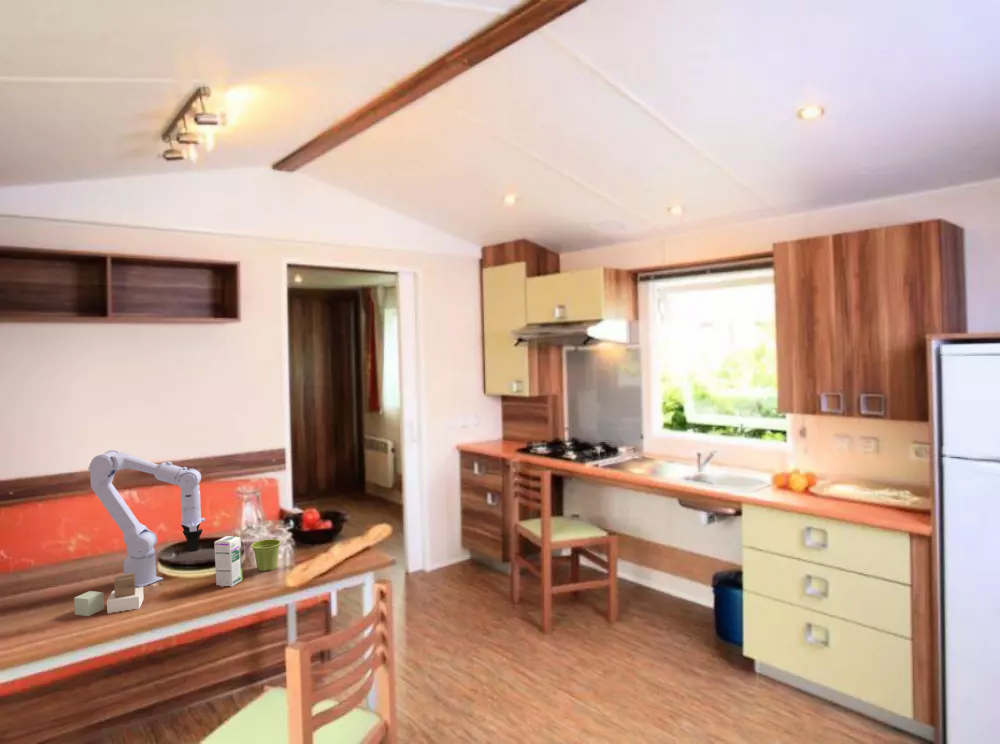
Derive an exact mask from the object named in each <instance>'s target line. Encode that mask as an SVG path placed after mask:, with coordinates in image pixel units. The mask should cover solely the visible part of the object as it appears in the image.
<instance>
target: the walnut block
mask: <svg viewBox="0 0 1000 744" xmlns="http://www.w3.org/2000/svg"><path fill="white" fill-rule="evenodd" d="M113 585H114V587H113V588H114V591H115V598H119V597H124V596H130V595H135V588H136V586H135V573H129V574H124V573H122V574H117V575H114V580H113Z"/></svg>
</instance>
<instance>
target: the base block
mask: <svg viewBox="0 0 1000 744" xmlns="http://www.w3.org/2000/svg"><path fill="white" fill-rule="evenodd" d="M144 594H145V593H144V586H143V587H135V595H130V596H124V597H119V598H115V590H112V591H111V593H110V594H109V596H108V598H107V601H106V610H107V611H106V613H108V614H113V612H115V613H120V612H119V611H122V612H126V611H125V610H129V611H132V610H131V609H136V610H139V609H140V608H141V606H142V603H143V601H144Z"/></svg>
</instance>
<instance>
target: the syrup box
mask: <svg viewBox="0 0 1000 744" xmlns="http://www.w3.org/2000/svg"><path fill="white" fill-rule="evenodd" d="M242 560H243V558H242V540H241V536H237V535H228V536H227V535H226V536H224V537H222V538H220V539H218V540H215V541H214V563H215V564H214V565H215V579H216V580H215V581H216V582H215V583H216V586H217V585H220V586H219V587H224V586H230V588H233V587H234V586H235V585H237V584H238V583H240V582H243V580H244V579H243V576H244V575H243V561H242Z"/></svg>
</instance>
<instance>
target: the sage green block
mask: <svg viewBox="0 0 1000 744" xmlns="http://www.w3.org/2000/svg"><path fill="white" fill-rule="evenodd" d="M73 601H74V602H73V603H74V615H75V616H84V617H91V616H93V615H95V614H97V613H99V612H101V611H103V610H104V609H105V602H104V601H105V598H104V592H101V591H95V590H93V591H92V590H89V591H87V592H84V593H82V594H80V595H77V596H75V597H74V598H73ZM102 609H103V610H102ZM100 610H101V611H100ZM98 611H99V612H98ZM96 612H97V613H96ZM94 613H95V614H94ZM92 614H93V615H92ZM90 615H91V616H90Z"/></svg>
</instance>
